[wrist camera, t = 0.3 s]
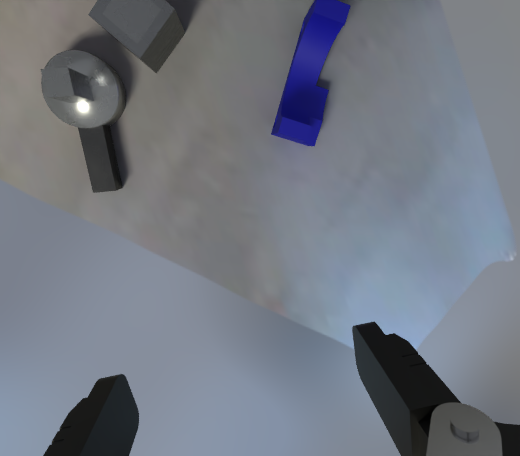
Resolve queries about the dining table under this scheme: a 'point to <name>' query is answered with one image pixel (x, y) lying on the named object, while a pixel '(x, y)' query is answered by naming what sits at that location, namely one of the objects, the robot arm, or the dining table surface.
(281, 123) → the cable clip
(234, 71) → the dining table surface
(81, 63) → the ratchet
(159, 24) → the grey paneled cube
